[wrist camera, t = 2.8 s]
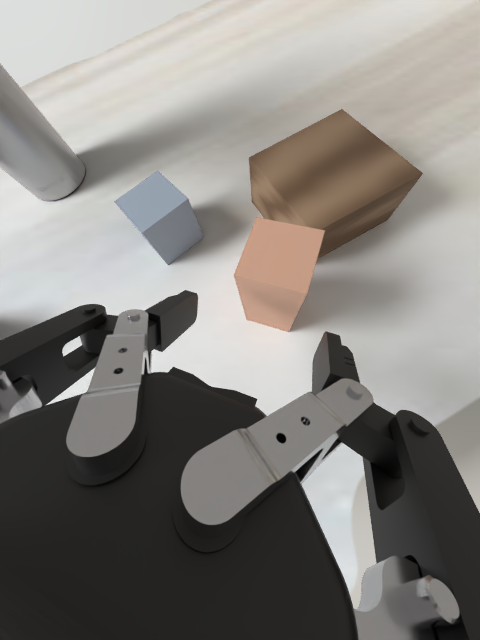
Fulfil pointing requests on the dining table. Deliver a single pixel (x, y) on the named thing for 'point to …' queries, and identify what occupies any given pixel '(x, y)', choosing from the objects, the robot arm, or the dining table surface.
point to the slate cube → (162, 216)
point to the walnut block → (331, 180)
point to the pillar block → (276, 271)
